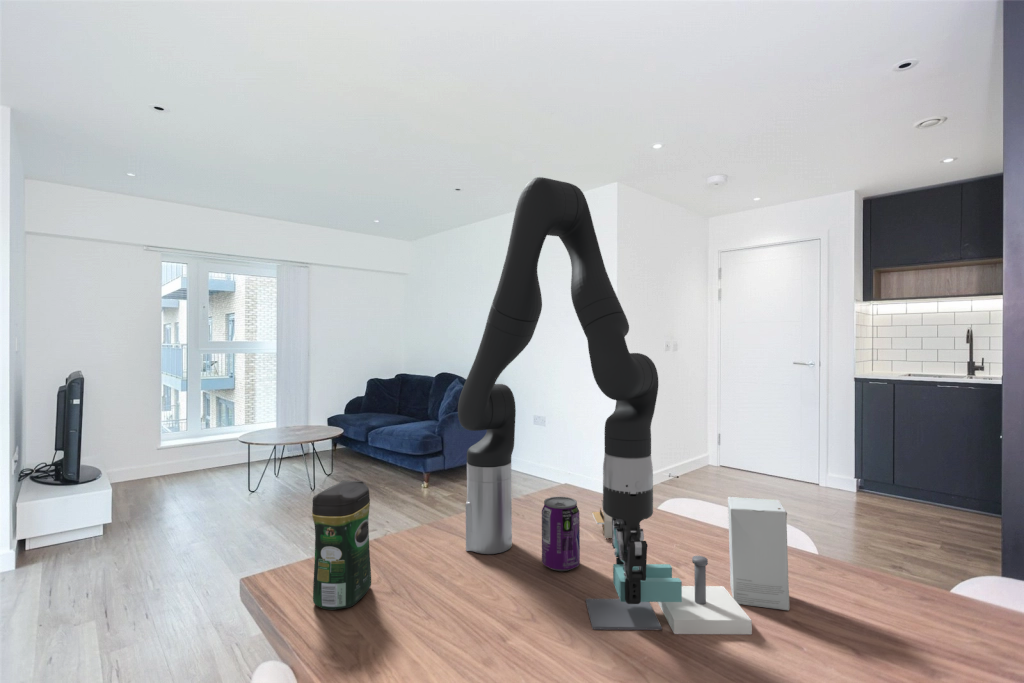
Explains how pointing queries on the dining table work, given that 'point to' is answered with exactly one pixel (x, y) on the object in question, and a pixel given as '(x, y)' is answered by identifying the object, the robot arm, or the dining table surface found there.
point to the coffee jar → (341, 545)
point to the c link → (651, 583)
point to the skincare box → (758, 552)
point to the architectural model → (604, 522)
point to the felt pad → (621, 615)
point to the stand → (705, 608)
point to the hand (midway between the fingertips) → (628, 591)
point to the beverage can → (560, 533)
